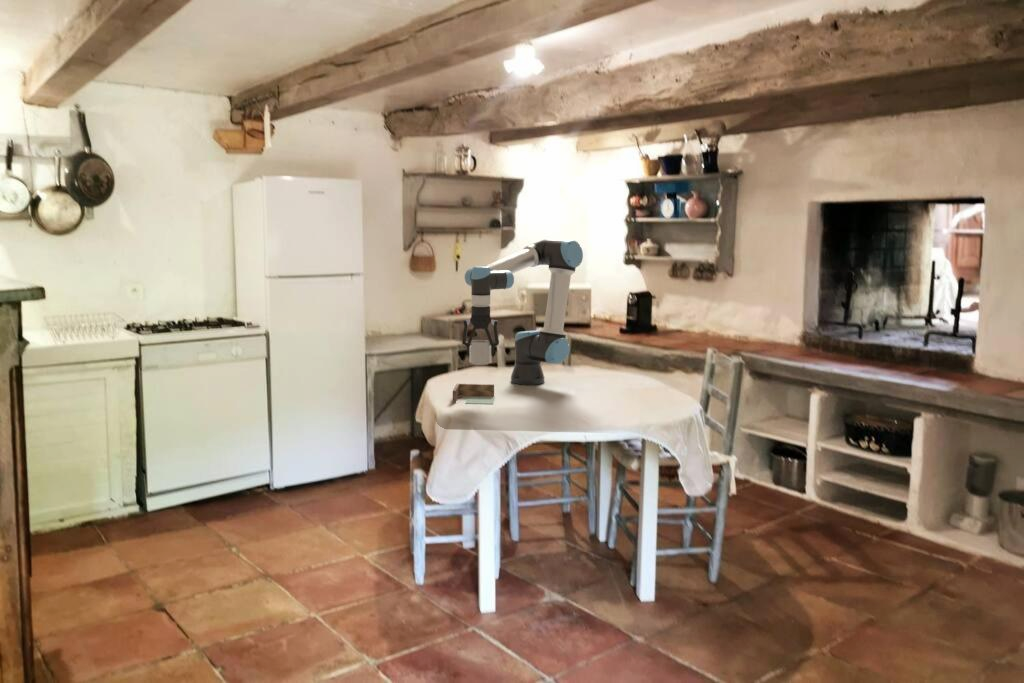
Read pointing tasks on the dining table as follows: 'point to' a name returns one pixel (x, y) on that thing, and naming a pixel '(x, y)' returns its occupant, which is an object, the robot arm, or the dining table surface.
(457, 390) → the corner walls
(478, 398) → the mat
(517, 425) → the dining table surface
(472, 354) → the cup
